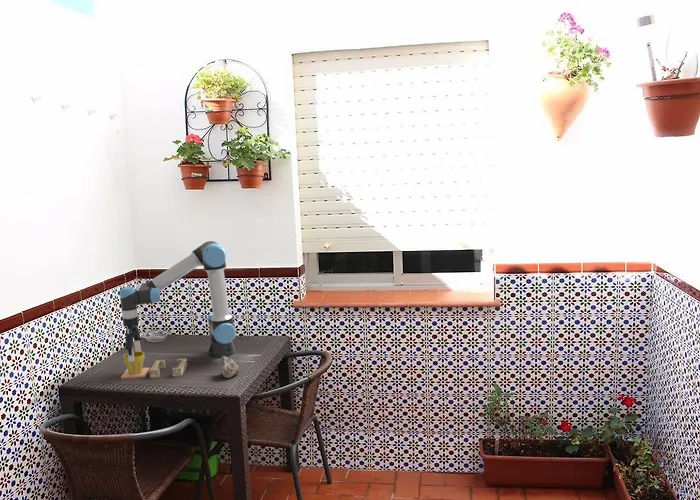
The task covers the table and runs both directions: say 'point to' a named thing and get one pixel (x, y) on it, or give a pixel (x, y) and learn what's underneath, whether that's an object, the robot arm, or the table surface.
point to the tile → (142, 374)
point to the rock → (228, 367)
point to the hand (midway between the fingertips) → (134, 356)
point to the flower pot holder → (161, 364)
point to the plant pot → (135, 362)
